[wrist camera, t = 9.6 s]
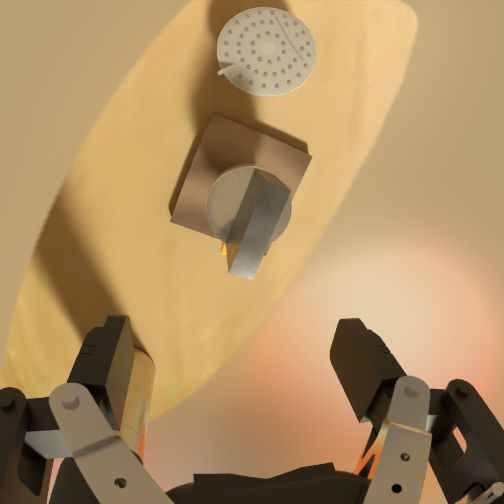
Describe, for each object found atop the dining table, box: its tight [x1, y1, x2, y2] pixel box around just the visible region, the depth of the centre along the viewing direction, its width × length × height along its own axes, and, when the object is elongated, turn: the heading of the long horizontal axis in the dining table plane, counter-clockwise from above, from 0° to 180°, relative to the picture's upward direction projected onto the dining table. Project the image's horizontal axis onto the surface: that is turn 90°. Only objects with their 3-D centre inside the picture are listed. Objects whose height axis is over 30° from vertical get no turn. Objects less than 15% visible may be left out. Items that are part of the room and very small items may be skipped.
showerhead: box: [217, 7, 317, 97], centre depth 27 cm, size 9×7×10 cm
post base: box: [170, 114, 312, 256], centre depth 33 cm, size 13×12×8 cm
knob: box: [207, 163, 292, 280], centre depth 25 cm, size 7×8×8 cm
